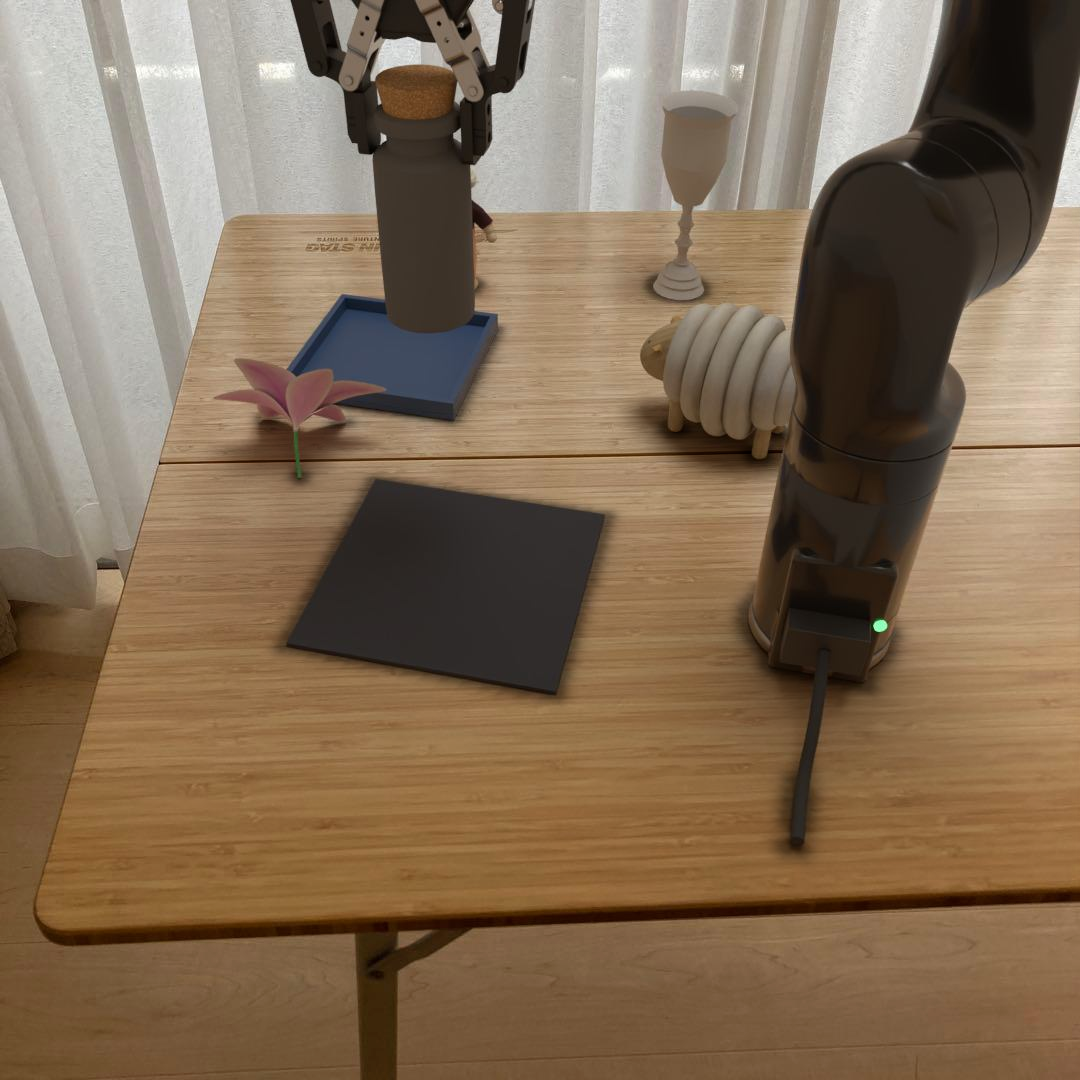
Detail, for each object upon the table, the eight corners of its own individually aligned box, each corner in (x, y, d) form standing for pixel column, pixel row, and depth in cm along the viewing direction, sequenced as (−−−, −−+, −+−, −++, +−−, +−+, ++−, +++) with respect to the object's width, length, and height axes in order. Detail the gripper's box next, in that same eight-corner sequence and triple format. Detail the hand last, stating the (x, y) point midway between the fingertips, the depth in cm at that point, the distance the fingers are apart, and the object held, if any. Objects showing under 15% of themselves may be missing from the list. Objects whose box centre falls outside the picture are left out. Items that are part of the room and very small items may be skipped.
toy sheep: (656, 376, 98) (668, 261, 91) (846, 426, 93) (875, 307, 86) (611, 439, 91) (620, 319, 83) (814, 497, 86) (842, 374, 78)
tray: (453, 420, 92) (453, 403, 91) (281, 395, 95) (279, 378, 93) (498, 329, 104) (497, 313, 102) (343, 309, 106) (341, 293, 105)
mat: (555, 694, 70) (556, 691, 70) (286, 646, 73) (285, 643, 72) (604, 517, 83) (605, 514, 83) (375, 481, 86) (375, 478, 86)
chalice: (630, 277, 112) (646, 96, 100) (689, 265, 114) (710, 86, 102) (667, 311, 107) (687, 124, 95) (727, 297, 109) (754, 113, 97)
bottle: (481, 293, 75) (474, 62, 65) (468, 337, 70) (458, 95, 61) (396, 289, 75) (376, 58, 66) (377, 332, 71) (353, 91, 61)
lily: (410, 459, 90) (394, 339, 88) (323, 486, 80) (303, 351, 78) (291, 464, 95) (274, 351, 93) (195, 490, 85) (174, 364, 83)
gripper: (234, -174, 54) (283, 168, 65) (523, -161, 51) (524, 192, 62) (294, -195, 59) (330, 123, 70) (557, -184, 57) (552, 143, 68)
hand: (421, 154), depth 66 cm, fingers closed on bottle, 5 cm apart
